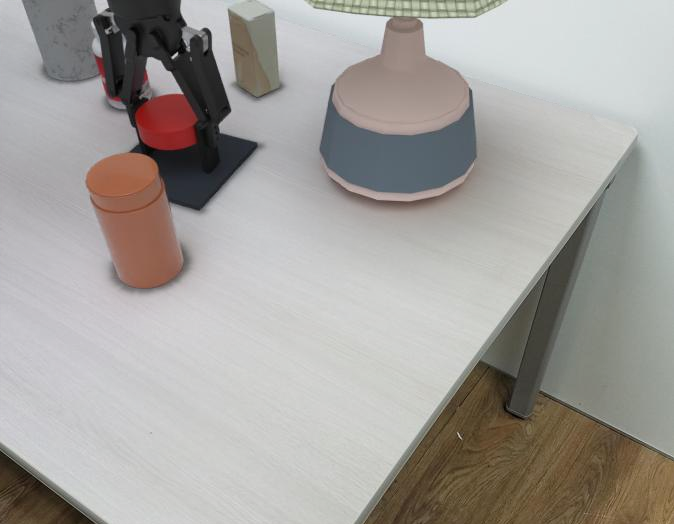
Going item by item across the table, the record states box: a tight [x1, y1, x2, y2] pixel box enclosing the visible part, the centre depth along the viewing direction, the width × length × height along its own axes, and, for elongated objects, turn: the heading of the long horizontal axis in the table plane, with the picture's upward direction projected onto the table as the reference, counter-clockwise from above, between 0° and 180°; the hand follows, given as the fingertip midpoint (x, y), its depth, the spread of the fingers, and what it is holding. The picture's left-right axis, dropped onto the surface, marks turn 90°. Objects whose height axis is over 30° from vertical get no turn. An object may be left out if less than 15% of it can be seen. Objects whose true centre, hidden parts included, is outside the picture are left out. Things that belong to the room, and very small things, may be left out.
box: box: [226, 0, 281, 98], centre depth 95 cm, size 5×4×11 cm
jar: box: [84, 152, 185, 289], centre depth 71 cm, size 7×7×12 cm
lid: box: [135, 93, 198, 150], centre depth 83 cm, size 8×8×2 cm
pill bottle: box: [91, 20, 153, 110], centre depth 94 cm, size 6×6×11 cm
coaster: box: [128, 132, 258, 211], centre depth 88 cm, size 14×14×1 cm
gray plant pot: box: [21, 0, 100, 82], centre depth 100 cm, size 10×10×12 cm
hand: (181, 157), depth 87 cm, fingers closed on lid, 8 cm apart
